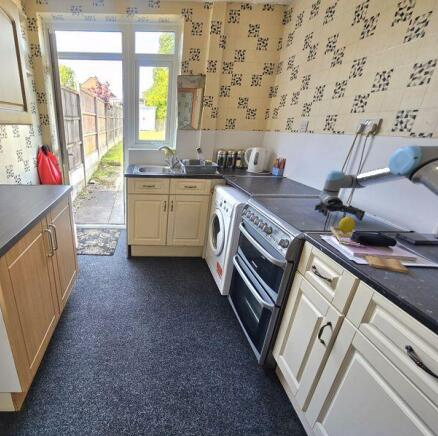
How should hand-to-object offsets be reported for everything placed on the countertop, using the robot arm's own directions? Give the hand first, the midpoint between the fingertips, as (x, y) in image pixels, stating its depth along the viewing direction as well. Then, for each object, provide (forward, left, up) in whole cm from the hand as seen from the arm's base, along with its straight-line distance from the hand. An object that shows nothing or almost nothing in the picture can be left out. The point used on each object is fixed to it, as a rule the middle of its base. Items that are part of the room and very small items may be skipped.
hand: (343, 215), depth 114 cm
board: (-6, +32, -6) cm, 33 cm away
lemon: (0, +7, -6) cm, 10 cm away
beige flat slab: (0, +11, -6) cm, 13 cm away
